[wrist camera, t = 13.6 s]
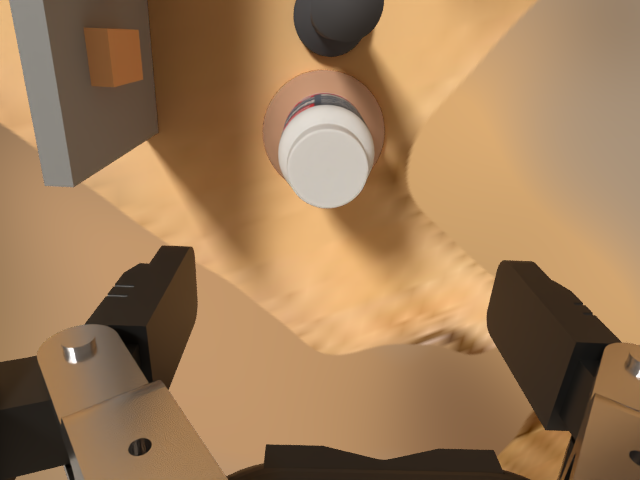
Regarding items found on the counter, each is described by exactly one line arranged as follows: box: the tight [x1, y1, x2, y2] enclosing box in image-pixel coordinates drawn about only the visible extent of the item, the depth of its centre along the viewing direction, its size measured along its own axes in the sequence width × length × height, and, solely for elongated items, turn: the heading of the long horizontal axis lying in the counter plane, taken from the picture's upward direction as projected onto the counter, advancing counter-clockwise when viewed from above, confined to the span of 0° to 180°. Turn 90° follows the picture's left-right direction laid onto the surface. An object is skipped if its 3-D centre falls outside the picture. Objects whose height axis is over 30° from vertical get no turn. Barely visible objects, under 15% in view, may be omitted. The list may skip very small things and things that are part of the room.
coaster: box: [263, 70, 385, 179], centre depth 31 cm, size 8×8×1 cm
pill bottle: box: [278, 93, 375, 208], centre depth 26 cm, size 5×5×9 cm
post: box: [294, 0, 384, 57], centre depth 22 cm, size 4×4×14 cm
